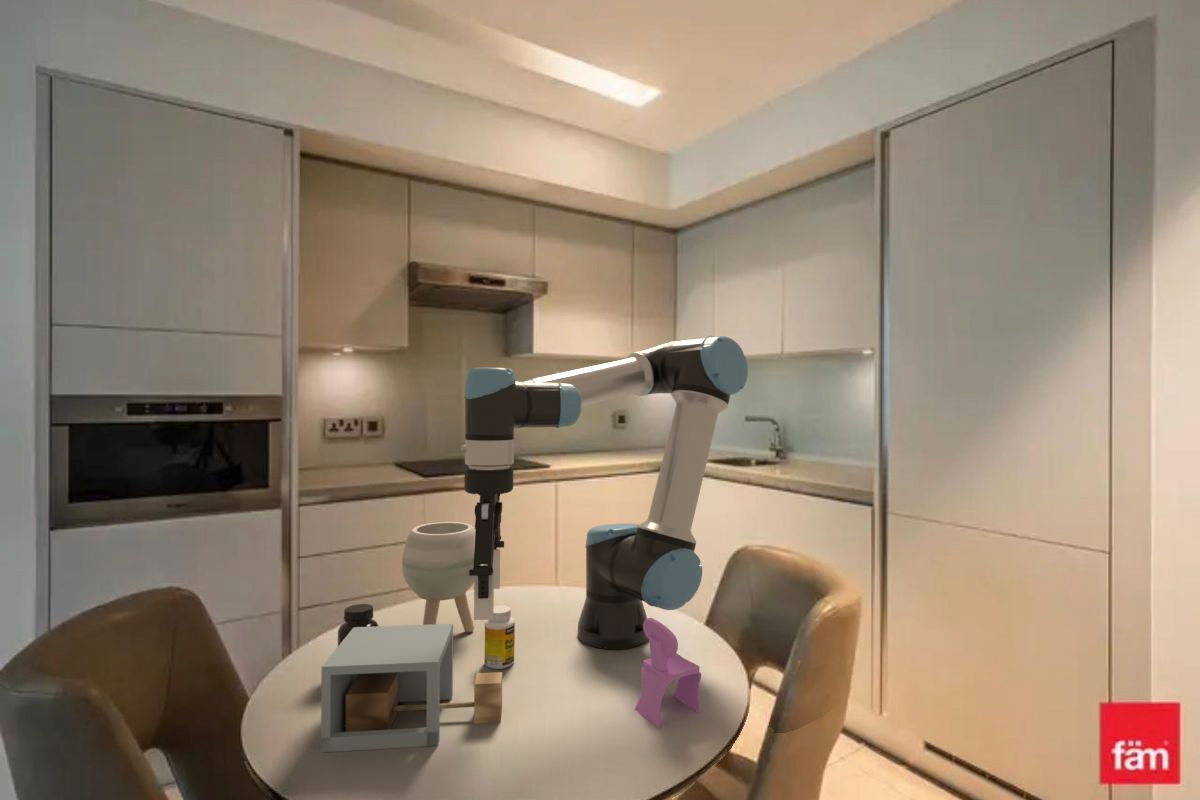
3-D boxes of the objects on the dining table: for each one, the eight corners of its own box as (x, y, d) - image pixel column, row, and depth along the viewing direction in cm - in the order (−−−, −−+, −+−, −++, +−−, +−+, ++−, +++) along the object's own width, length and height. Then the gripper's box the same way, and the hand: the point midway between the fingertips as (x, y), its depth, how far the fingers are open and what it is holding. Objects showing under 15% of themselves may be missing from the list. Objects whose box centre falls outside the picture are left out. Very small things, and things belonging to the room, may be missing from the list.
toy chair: (707, 714, 90) (707, 619, 90) (663, 731, 86) (664, 631, 86) (672, 691, 97) (673, 603, 97) (631, 706, 93) (631, 614, 93)
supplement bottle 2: (507, 672, 104) (507, 615, 104) (479, 668, 106) (479, 613, 106) (519, 658, 110) (519, 605, 110) (492, 655, 111) (492, 602, 111)
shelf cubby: (452, 695, 96) (453, 623, 96) (438, 745, 82) (438, 661, 82) (353, 700, 94) (353, 627, 94) (321, 752, 80) (321, 666, 80)
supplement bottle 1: (363, 686, 99) (363, 616, 99) (328, 682, 100) (328, 613, 100) (386, 667, 106) (386, 602, 106) (352, 664, 107) (353, 600, 107)
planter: (496, 629, 124) (497, 525, 124) (439, 657, 110) (439, 541, 110) (444, 613, 132) (445, 517, 132) (385, 638, 119) (385, 530, 119)
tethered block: (502, 705, 93) (502, 668, 93) (500, 726, 87) (500, 687, 87) (358, 713, 90) (358, 675, 90) (345, 735, 84) (345, 694, 84)
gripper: (473, 458, 102) (472, 578, 102) (452, 477, 77) (451, 635, 77) (516, 458, 102) (515, 577, 102) (509, 477, 78) (507, 633, 77)
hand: (487, 602), depth 90 cm, fingers open, 13 cm apart
